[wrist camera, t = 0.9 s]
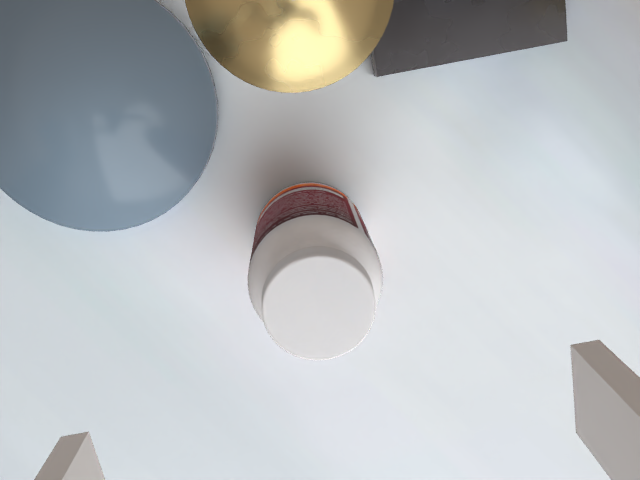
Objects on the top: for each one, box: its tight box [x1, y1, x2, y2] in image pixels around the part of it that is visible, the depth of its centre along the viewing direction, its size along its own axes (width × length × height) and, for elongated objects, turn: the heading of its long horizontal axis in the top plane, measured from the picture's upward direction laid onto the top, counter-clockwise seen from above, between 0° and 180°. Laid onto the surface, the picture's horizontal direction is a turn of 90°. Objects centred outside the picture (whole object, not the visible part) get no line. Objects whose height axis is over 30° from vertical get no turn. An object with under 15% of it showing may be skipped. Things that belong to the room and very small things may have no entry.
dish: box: [0, 0, 218, 231], centre depth 32 cm, size 13×13×1 cm
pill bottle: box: [248, 182, 383, 360], centre depth 29 cm, size 6×6×11 cm
